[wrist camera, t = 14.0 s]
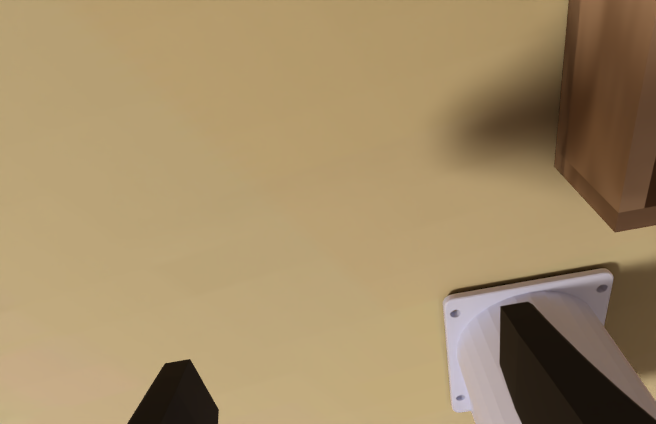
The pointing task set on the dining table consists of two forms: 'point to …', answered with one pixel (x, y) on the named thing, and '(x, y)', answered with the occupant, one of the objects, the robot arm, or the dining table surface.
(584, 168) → the brown wooden open box
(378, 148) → the dining table surface
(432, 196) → the dining table surface
